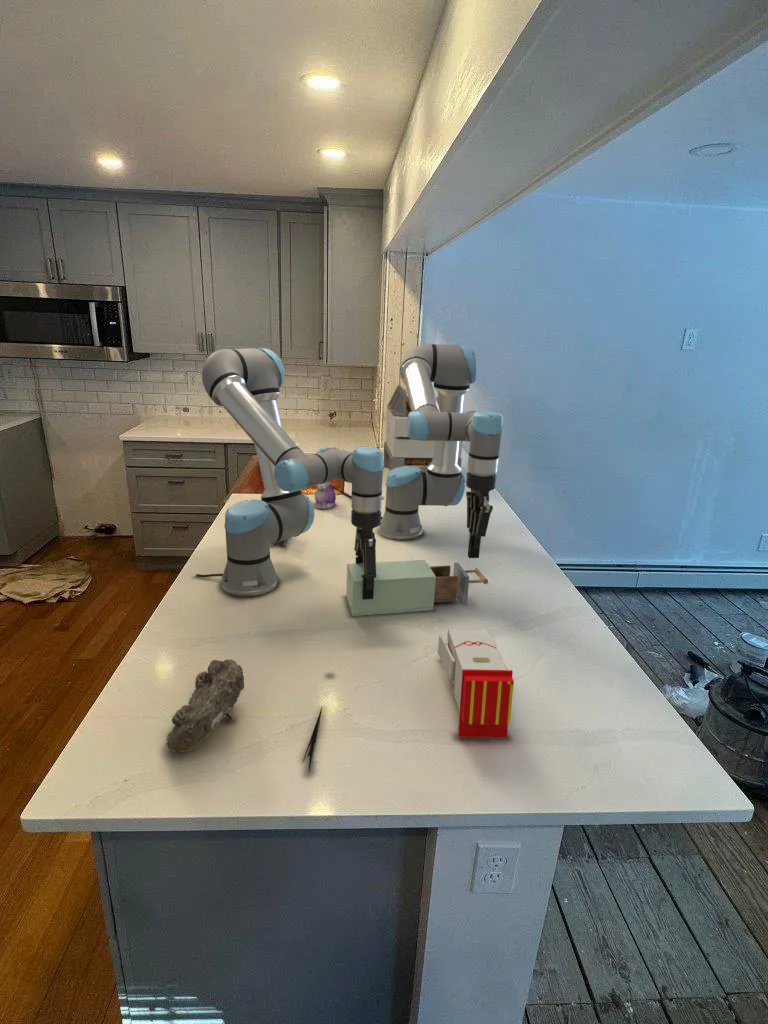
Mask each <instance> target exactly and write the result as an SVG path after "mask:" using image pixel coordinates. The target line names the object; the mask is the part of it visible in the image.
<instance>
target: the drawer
mask: <svg viewBox="0 0 768 1024" xmlns="http://www.w3.org/2000/svg"><path fill="white" fill-rule="evenodd" d="M429 567H430V568H431V570H432V571H433V573H434V574H435V576H436V583H435V595H434V603H444V602H445V603H447V602H456V601H457V597H458V599H459V600H460V602H461V603H462V604H468V595H469V587H470V584H478V583H479V584H481V583H482V584H484V585H488V583H489V579H488V578H487V577H486V576H485V575H484V573H483V572H482V571H481V570H480V569H479V567H475V568H474V569H464V568H463V566H462V565H461V564H460V563H459V562H456V561H455V562H454V564H453V573H452V575H451V565H449V564H448V565H433V566H430V565H429ZM471 573H474V574H475V575H476V576H477V577H478V578H479V579H470V576H469V574H471Z"/></svg>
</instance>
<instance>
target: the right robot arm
mask: <svg viewBox="0 0 768 1024" xmlns="http://www.w3.org/2000/svg"><path fill="white" fill-rule="evenodd" d="M477 375H478V361H477V357H476V353H475V350H474V349H473V347H471V346H469V345H463V344H443V343H442V344H441V343H439V344H438V343H435V344H434V343H423V344H419V345H417V346H415V347H413V348H411V349H410V350H409V351H407V353H405V355H404V356H403V358H402V360H401V362H400V365H399V376H400V379H401V381H402V383H403V384H404V385H405V388H406V393H407V396H408V397H409V402H410V406H411V411H412V412H410V413H409V414H408V417H407V435H408V437H409V438H410V439H411V440H420V441H434V445H433V457H432V463H430V464H429V465H428V466H426V471H422V469H421V467H420V466H407V465H404V466H403V467H398V468H394V469H392V470H391V471H390V470H388V473H387V475H386V482H385V487H386V488H385V489H386V490H385V504H384V505H385V507H384V508H385V509H384V513H383V515H382V516H381V524H380V525H379V526H378V533H379V534H380V535H381V536H382V537H385V538H387V539H389V540H395V541H410V540H415V539H418V538H420V537H421V536H422V535H423V525H422V524H421V518H420V515H419V507H420V506H441V507H450V506H457V505H459V504H460V503H461V501H462V499H463V497H464V493H465V489H466V487H467V488H468V489H470V491H466V493H465V495H466V529H468V533H469V536H468V537H469V538H468V546H467V557H468V559H479V558H480V551H481V543H482V538H483V537H484V538H485V537H486V536H487V532H488V531H487V530H488V527H489V522H490V517H491V514H492V512H493V509H494V506H493V505H490V504H489V503H490V492H491V491H494V490H495V489H496V486H497V477H498V476H497V473H498V466H499V464H500V460H499V458H500V450H501V442H502V433H503V429H504V426H503V424H504V417H503V415H502V413H500V412H496V411H495V410H494V411H493V410H468V411H466V412H463V410H464V399H465V394H466V393H467V392H468V391H470V388H471V385H472V384H475V383H476V381H477V378H478V377H477ZM435 391H436V393H437V396H436V393H435ZM436 397H437V400H436ZM459 441H463V442H469V451H468V456H467V467H466V470H467V471H468V472H467V473H466V476H465V474H464V472H462V467H461V468H460V467H459V466H458V464H457V461H458V451H459ZM329 486H330V487H332V488H333V490H334V491H337V492H339V493H341V494H342V495H344V496H346V497H348V498H350V499H351V496H352V495H350V494H349V493H347V492H345V491H343V490H342V489H340V488H337V487H335V486H333V485H331V484H329Z"/></svg>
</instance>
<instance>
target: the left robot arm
mask: <svg viewBox="0 0 768 1024" xmlns="http://www.w3.org/2000/svg"><path fill="white" fill-rule="evenodd" d="M285 374H286V373H285V368H284V364H283V362H282V360H281V358H280V357H279V356H278V354H276V353H275V352H274V351H272V350H271V349H269V348H261V347H250V348H249V347H248V348H223V349H218V350H215V351H214V352H213V353H211V354H210V355H209V356H208V357H207V358H206V359H205V362H204V364H203V366H202V370H201V382H202V385H203V388H204V390H205V392H206V394H207V395H208V397H209V398H210V399H211V400H212V402H213V403H214V404H215V405H217V406H219V407H222V408H224V409H225V410H226V411H227V413H228V414H229V415H230V416H231V417H232V419H233V420H234V421H235V422H236V423H237V424H238V425H239V427H240V428H241V429H242V430H243V431H244V433H245V434H246V435H247V436H248V437H249V438H250V439H251V441H252V442H253V444H254V448H255V453H256V457H257V462H258V466H259V469H260V470H259V471H260V474H261V475H260V476H261V479H262V484H263V488H264V490H263V492H262V494H261V495H260V499H250V500H248V499H245V500H242V501H238V502H236V503H234V504H232V505H231V506H229V507H228V508H227V509H226V511H225V515H224V524H223V525H224V530H225V546H226V563H225V567H224V570H223V573H209V574H201V573H196V575H195V576H196V577H198V578H214V577H221V589H222V590H223V591H224V592H225V593H227V594H228V595H232V596H236V597H242V598H243V597H244V598H245V597H246V598H249V597H250V598H251V597H259V596H262V595H266V594H268V593H270V592H272V591H273V590H274V589H275V588H276V587H277V586H278V573H277V572H276V569H275V567H274V566H275V565H274V564H273V562H272V559H271V545H273V544H274V543H275V544H277V543H281V542H280V541H283V540H285V539H287V540H288V539H291V538H295V537H297V538H298V537H299V536H300V535H302V534H305V533H306V532H308V531H309V530H310V529H311V527H312V525H313V523H314V521H315V506H314V504H313V501H312V500H311V499H310V497H309V496H308V495H307V494H304V493H303V492H302V491H303V490H305V489H309V488H312V487H316V486H315V485H319V484H323V483H327V482H329V483H330V482H334V481H341V482H344V483H349V484H351V495H350V496H351V498H350V500H351V501H350V502H351V504H350V505H351V513H350V516H351V517H350V522H351V525H352V526H353V527H355V538H354V539H355V540H354V548H353V550H354V552H355V553H354V555H355V564H357V563H363V564H364V575H361V577H362V578H363V593H362V599H363V600H365V599H373V594H374V578H376V562H377V556H376V555H377V553H376V548H377V547H376V546H377V539H376V535H375V534H376V533H375V532H373V529H376V528H379V526H380V524H381V522H382V519H381V517H382V501H383V500H384V499H385V496H384V495H383V479H384V478H383V476H384V469H385V466H384V464H383V463H384V452H383V451H382V450H381V449H380V448H378V447H374V446H358V447H355V448H354V449H353V450H352V451H347V450H344V449H340V448H339V447H335V446H332V447H331V446H323V447H321V448H320V449H318V450H317V451H316V452H315V453H312V454H308V455H306V453H305V452H304V451H303V450H302V449H301V448H300V447H299V446H298V445H297V444H296V442H295V441H294V440H293V439H292V438H291V436H290V435H289V434H288V433H287V432H286V431H285V430H284V429H283V424H282V421H281V416H280V410H279V407H278V402H277V401H278V398H279V397H280V395H281V391H280V388H282V386H283V385H284V382H285V381H284V379H285V377H286V375H285Z"/></svg>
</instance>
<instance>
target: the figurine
mask: <svg viewBox="0 0 768 1024" xmlns="http://www.w3.org/2000/svg"><path fill="white" fill-rule="evenodd" d="M329 485H330V482H327V483H323V484H319V485H315V486H314V487H315V488H316V490H315V492H314V500H315V503H314V508H316V509H320V510H324V509H330V508H333V507H335V505H336V499H337V497H336V496H337V495H336V490H335V489H333V488H332V487H330V486H329Z"/></svg>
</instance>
